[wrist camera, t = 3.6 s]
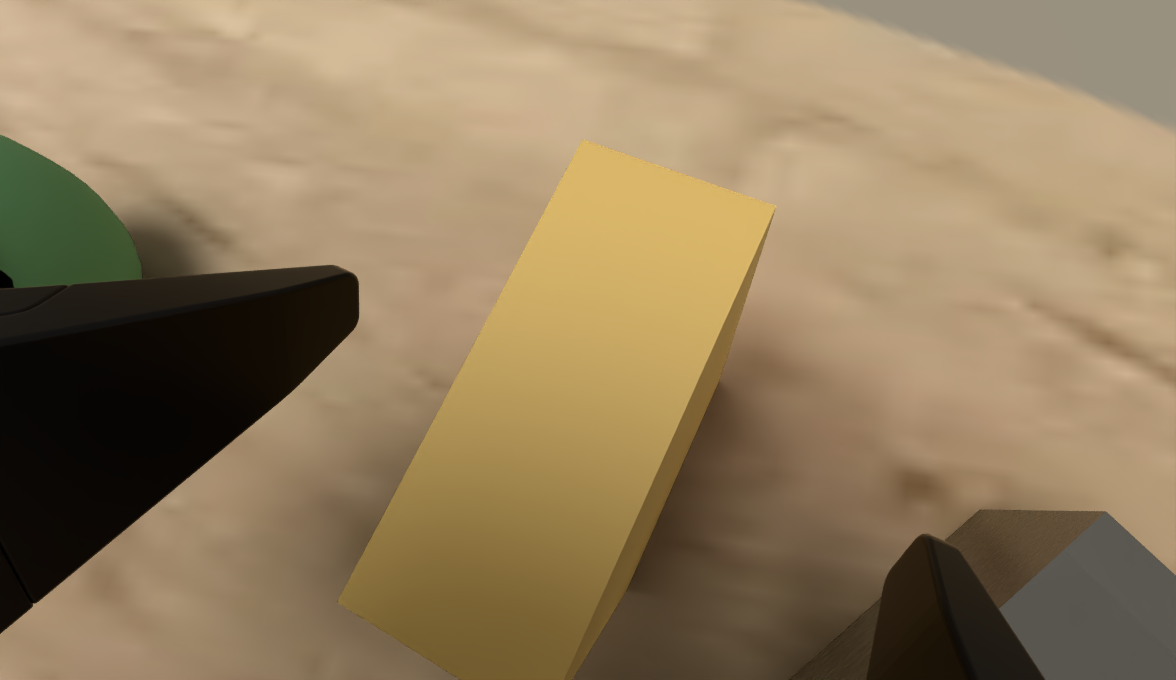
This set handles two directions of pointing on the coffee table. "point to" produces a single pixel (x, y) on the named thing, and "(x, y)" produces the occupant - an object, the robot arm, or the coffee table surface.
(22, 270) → the alien toy
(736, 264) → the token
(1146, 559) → the box
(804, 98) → the coffee table surface
